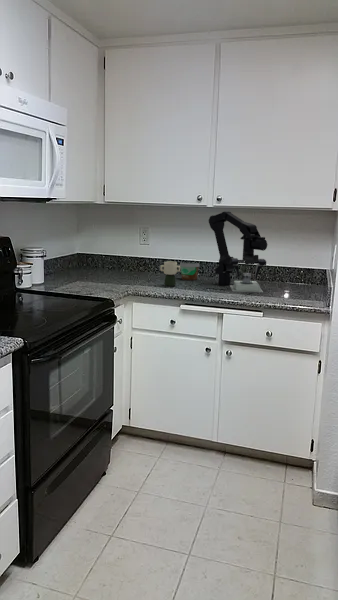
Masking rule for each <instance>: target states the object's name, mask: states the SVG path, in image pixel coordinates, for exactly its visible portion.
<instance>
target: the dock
mask: <svg viewBox="0 0 338 600" xmlns="http://www.w3.org/2000/svg"><path fill="white" fill-rule="evenodd" d="M229 287H230V290H231V291H232V293H251V294H252V293H262V294H264V291H263V289H262V288H261V286H260V284H259V283H258V282H257V281H256V280H251V284H242V280H234V281H233V285H232V284H230V285H229Z"/></svg>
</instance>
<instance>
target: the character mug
mask: <svg viewBox="0 0 338 600" xmlns="http://www.w3.org/2000/svg"><path fill="white" fill-rule="evenodd" d="M159 269H160V272H163V273H164V274H165V277H164V282H163V284H164V286H167V287H168V286H170V287H171V286H172V287H173V286H175V285H177V283H176V276H175V275H176V274H177V272H178V273H179V272H180V273H181V266H180V265H178V262H177V261H173V260H171V261H164V262H163V264H160V267H159Z"/></svg>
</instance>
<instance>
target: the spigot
mask: <svg viewBox="0 0 338 600" xmlns="http://www.w3.org/2000/svg"><path fill="white" fill-rule="evenodd" d="M241 281H242V284H251V281H252V273H251V272H243V273H242V280H241Z"/></svg>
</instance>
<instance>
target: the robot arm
mask: <svg viewBox="0 0 338 600" xmlns="http://www.w3.org/2000/svg"><path fill="white" fill-rule="evenodd" d="M225 222H228V223H230V224H231V225H233V226H234V227H236V228H237V229H239V232H240V233H241V234H242V236H241V237H240V240H243V242H242V246H243V247H242V259H239V258H237V257H236V258H235V257H233V256H230V254H229V249H228V246H227V241H226V237H225V233H224V228H225ZM208 224H209V227H210V229H211V230H212V231H213V232H214V236H215V241H216V245H217V249H218V250H217V251H218V253H219V259H218V266H217V267H216V268H215V274H217V285H218V286H230V285H231V283H232V282H231V280H232V279H231V278H232V277H231V274H233V272H234V269H235V271H236V275H237V278H240V271H239V264H244V265H255V264H256V267H255V272H254V273H255V274H254V278H256V279H257V277H258V275H259V271H260V270H261V268H264V266H267V260H266V259H265V258H259V255H258V254H255V250H257V251H266V249H267V247H268V242H267V240H266V237H265V236H262V237H261V235H260V232H259V230H258V226H257V225H256V224H254V223H250V222H247V221H244V220H243V219H241V218H239V217H238V216H236V215H235V214H233V212H231V211H230V210H229V211H221V212H220V213H218V214H215V215H214V214H213V215H210V217H209V219H208Z"/></svg>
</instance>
